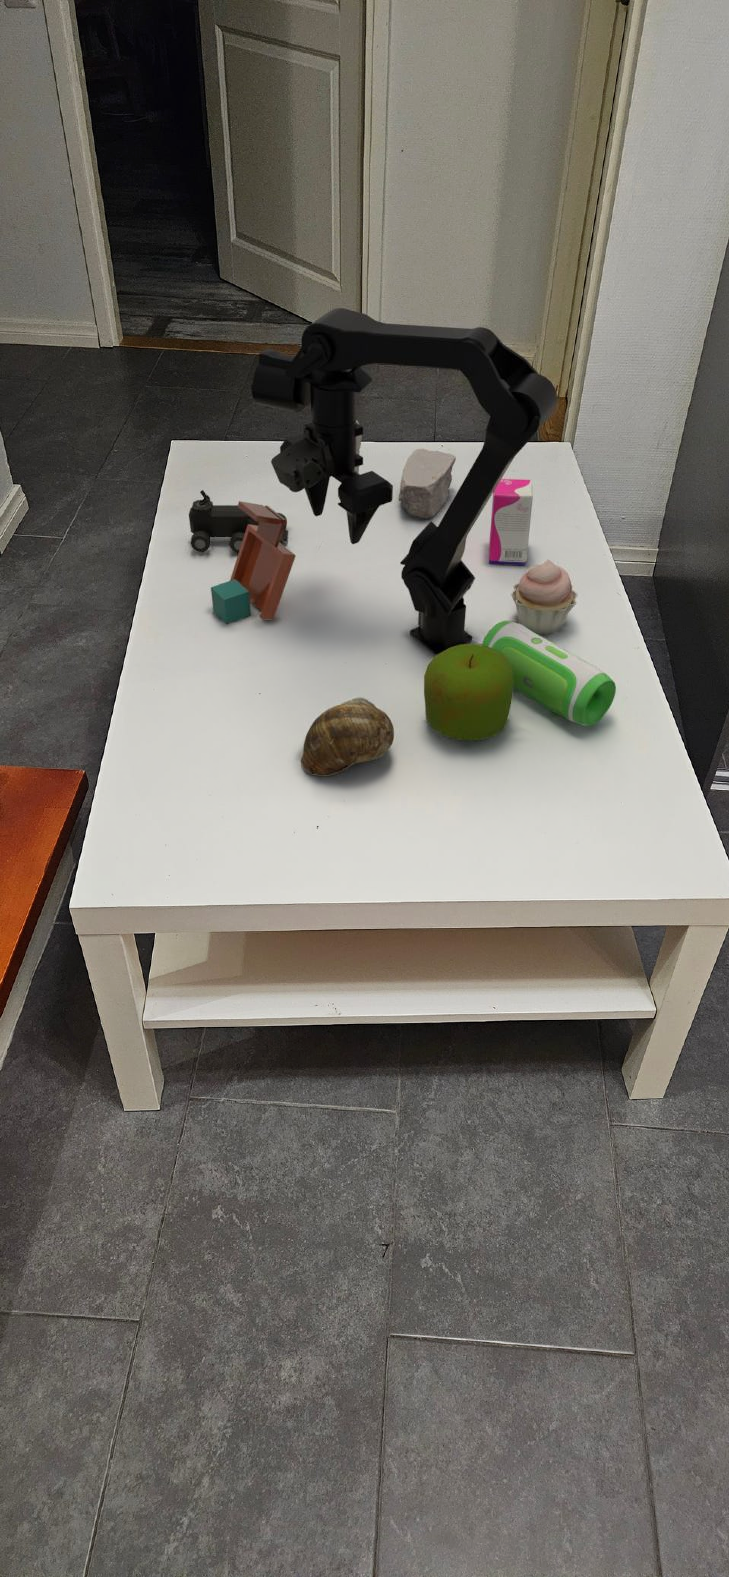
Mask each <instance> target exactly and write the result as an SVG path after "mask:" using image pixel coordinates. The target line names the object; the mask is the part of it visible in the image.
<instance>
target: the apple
mask: <svg viewBox="0 0 729 1577" xmlns="http://www.w3.org/2000/svg"><path fill="white" fill-rule="evenodd" d="M423 675H424V676H423V698H424V708H425V720H426V722H428V724H429V725H430V726H431V728H432V729H433V730H435V731H436V732H437V733H439V734H441V735H443V736H444V737H447V738H451V739H455V740H457V741H466V742H467V741H468V742H469V741H470V742H471V741H479V740H484V739H487V738H492V737H495V735H497V734H499V733H500V732H502V731H504V729H505V726H506V724H507V722H508V720H509V716H510V715H509V714H510V711H511V706H512V702H513V695H514V689H515V688H514V682H513V670H512V664H511V663H510V661H509V660H508V659H507V658H506V657H505V656H504V655H503V654H502V653H500V652H499V651H498V650H495V649H493V648H490V647H488V646H484V645H482V644H477V643H466V644H461V645H457V646H454V647H450V648H448V649H446V650H445V651H443V652H441V653H439V654H438V655H436V654H435V655H434V656H433V657H432V658H431V660H430V661H429V662H428V664H427V666H426V669H425V672H424V674H423Z"/></svg>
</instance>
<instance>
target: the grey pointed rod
mask: <svg viewBox="0 0 729 1577" xmlns="http://www.w3.org/2000/svg"><path fill="white" fill-rule="evenodd" d="M356 423H358V424H359V425H360V423H359V421H358V420H357V419H356ZM362 440H363V435H360V436H356V449H357V454H359V455H360V452H361V451H360V449H361V447H362ZM354 471H356V472H357V473H359V474H360V466H357V467H355V470H354Z"/></svg>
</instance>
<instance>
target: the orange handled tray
mask: <svg viewBox="0 0 729 1577" xmlns="http://www.w3.org/2000/svg"><path fill="white" fill-rule="evenodd" d="M237 505H238V507H239V508H240V509H241V510H243V511H244V512H245V513H246V514H248V515H249V516H250V517H251V518H252V519H254V520H255V521H259V522H260V523H259V526H256V525H249V524H248V525H247V528H246V532H245V535H244V538H243V541H242V544H241V547H240V550H239V554H238V553H237V557H236V560H235V563H234V566H233V570H232V573H231V576H230V579H229V581H231V580H234V579H236V580H237V581H238V582H239V583H240V584H241V585H242V586H243V587H245V588H246V589H247V590H248V591H249V598H250V604H252V605H254V606H255V607H256V609H258V610H259V611H260V614H259V618H260V619H261V620H269V621H274V620H275V617H276V614H277V612H278V609H279V606H280V603H281V600H282V597H283V594H284V591H285V588H286V585H287V582H288V580H289V577H290V574H291V570H292V567H293V564H294V561H295V560H296V554H295V553H294V552H292V551H291V550H290V549H288V548H287V547H286V546H285V545H284V546H283V545H282V544H281V543H280V539H281V536H282V533H283V530H284V527H285V524H286V521H287V522H288V519H287V518H286V519H287V520H286V519H284V518H283V517H282V516H280V515H279V514H278V513H279V512H276V511H275V510H274V509H273V508H272V507H271V506H269V505H263V504H259V503H253V502H246V501H242V500H239V501H238V503H237Z"/></svg>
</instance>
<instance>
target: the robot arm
mask: <svg viewBox="0 0 729 1577" xmlns="http://www.w3.org/2000/svg"><path fill="white" fill-rule="evenodd" d="M302 332H303V333H302V335H301V340H300V341H301V348H300V349H299V350H298V352H296V354H289V353H283V352H280V351H278V350H275V349H271V348H266V349H264V350H262V352H260V353H259V354H258V364H257V366H256V368H255V370H254V373H253V378H252V383H251V384H250V387H251V396H252V399H253V401H254V403H256V404H257V405H260V406H263V407H264V406H265V407H268V408H269V407H270V408H274V409H279V410H284V411H289V412H293V413H301V412H302V411H303V410H304V409H305V408H306V407H307V406H309V405H310V421H311V422H309V423H305V424H304V428H303V429H302V432H303V433H301V434H298V435H294V436H291V437H287V438H285V439H284V441H282V444H281V445H280V446H279V453H277V454H276V455H274V457H273V458H272V459H271V460H270V463H271V466H272V468H273V470H274V473H275V475H276V477H277V480H278V482H279V483H280V484H281V485H284V486H285V487H286V488H288V490H290V492H292V493H299V492H301V491H303V490H304V491H305V494H306V497H307V500H308V503H309V505H310V507H311V511H312V514H313V516H315V517H320V516H322V514H323V512H324V509H325V504H326V500H327V494H328V489H329V483H330V479H331V477H332V478H334V479H335V480H336V481H338V482H340V484H339V486H338V488H337V497H338V498H339V501H340V502H338V503H337V506H339V507H340V508H342V509H343V510H344V511H345V512H346V518H347V528H348V535H349V540H350V543H351V545H356V544H359V542H360V541H361V539H362V538H363V535H364V533H365V532H366V530H367V528H368V526H369V524H370V522H371V521H372V518H374V515H375V514H376V512H377V511H378V509H379V508H380V507H381V506H384V505H386V504H388V503H391V502H393V499H394V485H393V484H392V483H390V482H389V481H388V479H386V478H384V477H382V476H381V475H380V474H378V473H377V472H375V471H374V470H370V471H366V472H363V473H361V474H360V472H359V473H357V472H356V471H354V470H355V467H357V466H359V467H360V466H363V465H364V456H362V455H360V453H359V454H357V449H356V436H360V435H362V436H363V435H364V426H363V425H361V424H360V423H359V422H358V423H359V424H358V423H356V420H357V393H358V394H360V393H362V392H363V391H364V390H365V389H366V388H368V387H369V386H370V385H371V384H372V383H373V377H371V375H369V373H368V372H366V371H365V370H364V369H363V367H364V366H368V365H386V366H387V365H388V366H399V367H412V368H423V369H424V368H427V369H438V370H450V371H451V370H452V371H460V372H461V374H463V376H464V377H465V378H466V379H467V380H468V382H469V385H470V387H471V389H472V391H473V393H474V395H475V397H476V399H477V402H478V403H479V405H480V407H481V408H482V409H483V410H484V411H485V412H486V413H487V415H489V419H488V422H487V425H486V428H485V432H484V439H483V445H482V447H481V450H480V452H479V454H478V455H477V457H476V459H475V460H474V462H473V463H472V465H471V467H470V469H469V471H468V473H467V475H466V476H465V478H464V480H463V481H462V483H461V485H460V487H459V488H458V490H457V492H456V493H455V496H454V497H453V499H452V501H451V502H450V504H449V506H448V508H447V510H446V511H445V513H444V515H443V517H442V518H441V520H440V521H439V524H438V525H437V524H435V523H434V522H433V521H429V522H428V524H426V525H425V527H424V528H423V529H422V530H421V531H420V532H419V533H418V535H417V536H416V537H415V538H414V539H413V540H412V542H411V544H410V547H409V550H408V553H407V554H406V555H405V556H404V557H403V559H401V561H400V562H399V563H400V565H401V566H403V567H402V569H401V573H400V574H401V575H400V576H401V579H402V581H403V584H404V585H405V587H406V588H407V590H408V594H409V597H410V599H411V602H412V605H413V609H414V611H415V612H417V614H418V616H417V625H418V626H417V627H415V628H412V629H410V630H409V635H410V636H411V637H413V638H414V639H415V640H416V641H418V643H420V644H421V645H422V646H424V647H425V648H426V649H427V650H428V651H430V652H431V653H432V654H434V655H435V656H436V655H438V654H439V653H441V652H443V651H445V650H446V649H448V648H450V647H454V646H457V645H461V644H469V643H471V642H472V641H473V636H472V635H471V634H469V633H468V632H467V631H466V630H465V629H466V628H465V627H466V613H467V605H466V604H465V599H464V596H465V595H466V593H467V592H468V591H469V590H470V589H471V588H472V586H473V584H474V582H475V580H476V577H475V575H474V574H473V573H472V572H471V570H470V569H469V567H468V566H467V565H466V564H465V563H464V562H463V560H462V558H463V556H464V553H465V551H466V545H467V544H466V543H467V538H468V535H469V533H470V531H471V530H472V528H473V527H474V525H475V523H476V522H477V520H478V518H479V517H480V515H481V513H482V512H483V510H484V509H485V506H486V505H487V504H488V501H489V500H490V498H491V497H492V496H493V492H494V490H495V489H496V487H497V485H498V484H499V482H500V480H501V479H503V477H504V475H505V474H506V472H507V470H508V469H509V467H510V466H511V464H512V462H513V461H514V459H515V457H516V456H517V455H518V454H519V453H520V451H522V449H523V448H524V447H525V446H526V445H527V444H528V443H529V441H531V439H532V438H533V437H534V436H535V435H536V434H537V433H538V431H539V430H540V429H541V428H542V427H543V425H544V424H545V423H546V422H547V421H548V419H549V418H550V417H551V416H552V415H553V414H554V412H555V411H556V409H557V406H558V404H559V397H558V394H557V389H556V387H555V386H554V384H553V382H552V381H551V380H550V379H549V378H547V377H546V376H544V375H542V374H540V373H539V372H538V371H537V370H536V369H535V368H534V367H533V365H532V364H531V363H530V362H529V361H528V359H526V358H525V357H524V356H522V355H520V354H519V353H518V352H516V351H514V350H513V349H512V348H510V347H508V346H507V345H505V344H504V343H503V341H501V339H500V338H499V337H498V336H497V335H496V334H495V332H493V331H492V330H491V329H490V328H487V327H484V326H483V327H482V326H477V327H473V328H464V327H450V326H431V325H417V324H400V323H385V322H382V321H378V320H376V319H374V318H372V317H371V316H370V315H368V314H366V313H363V312H360V311H355V310H351V309H347V308H343V307H338V308H332V309H331V310H329V311H328V312H326V313H325V314H323V315H322V316H320V317H318V319H316V320H315V321H313V322H311V323H310V324H309V325H307V327H306V328H305V329H304V330H303V331H302ZM503 381H504V382H505V383H506V384H507V385H508V388H507V386H505V384H504V383H503Z"/></svg>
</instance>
